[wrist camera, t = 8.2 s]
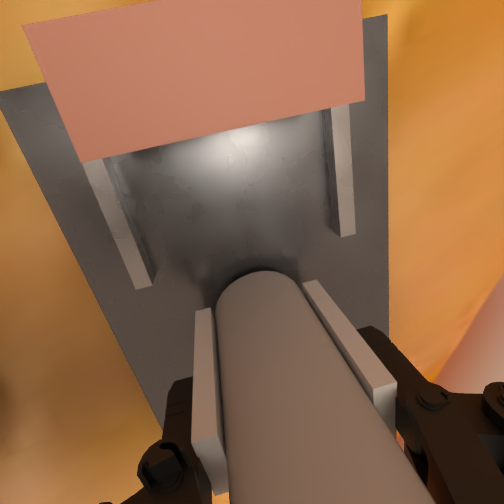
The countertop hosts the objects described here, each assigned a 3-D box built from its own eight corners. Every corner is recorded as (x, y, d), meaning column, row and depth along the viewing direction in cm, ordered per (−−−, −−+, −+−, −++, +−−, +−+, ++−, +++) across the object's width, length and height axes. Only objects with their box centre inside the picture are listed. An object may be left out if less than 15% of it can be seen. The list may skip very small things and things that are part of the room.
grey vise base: (8, 96, 12) (-161, 63, 6) (374, 22, 13) (502, -60, 7) (173, 435, 21) (163, 544, 15) (381, 374, 22) (441, 455, 16)
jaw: (96, 70, 11) (21, 24, 6) (297, 30, 11) (360, -38, 7) (126, 152, 12) (80, 162, 8) (306, 112, 13) (365, 100, 8)
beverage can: (198, 321, 16) (192, 763, 5) (244, 249, 14) (381, 613, 3) (269, 350, 17) (390, 730, 6) (316, 288, 16) (565, 620, 5)
